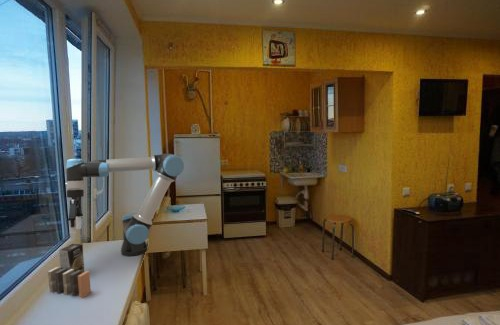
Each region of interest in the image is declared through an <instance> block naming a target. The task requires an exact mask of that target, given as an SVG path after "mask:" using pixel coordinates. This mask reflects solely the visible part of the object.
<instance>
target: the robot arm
mask: <svg viewBox="0 0 500 325" xmlns="http://www.w3.org/2000/svg"><path fill="white" fill-rule="evenodd" d="M184 168H185V165H184V161H183V159H182V158H181V157H179V156H178V155H177V154H173V153H162V154H154V155H151V156H148V157H147V156H146V157H145V156H144V157H129V158H127V157H126V158H113V159H111V158H109V159H93V160H91V161H90V162H85V161H84V160H83V158H70V159H67V160H66V169H65V170H66V172H65V173H66V182H65V185H66V189H67V190H66V197H67V198H69V199H70V198H71V199H70V200H69V210H68V211H69V213H68V218H67V221H68V222H69V235H76V234H77V230H81V229H82V217H83V216H84V215H83V211H82V210H83V209H82V202H81V199H82V197H84V194H85V193H84V192H85V190H84V188H85V185H84V178H105V177H108V176H109V175H110V174H109V173H122V172H136V171H148V170H152V171H154V172H156V178H155V179H154V182H153V183H152V185H151V187H150V188H149V191H148V193H147V194H146V196H145V198H144V200H143V202H142V204H141V206H140V207H139V210H138V212H135V213H127V214H124V215H123V216H121V217H122V218H121V221H122V222H121V223H122V240H123V241H122V244H121V247H120V254H121V255H122V256H125V257H134V256H139V255H142V254H143V255H144V254H145V253H146V252H147V251H148V244H147V242H146V241H147V240H148V238H149V236H150V229H151V227H152V225H153V221H152V220H153V218H154V216H155V213H156V212H157V210H158V208H159V206H160V204H161V203H162V201H163V199H164V196H165V195H166V192H167V191H168V189H169V187H170V185H171V183H173V182H176V179H177V177H178V176H179V175H181V174H182V173H183V171H184Z"/></svg>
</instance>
